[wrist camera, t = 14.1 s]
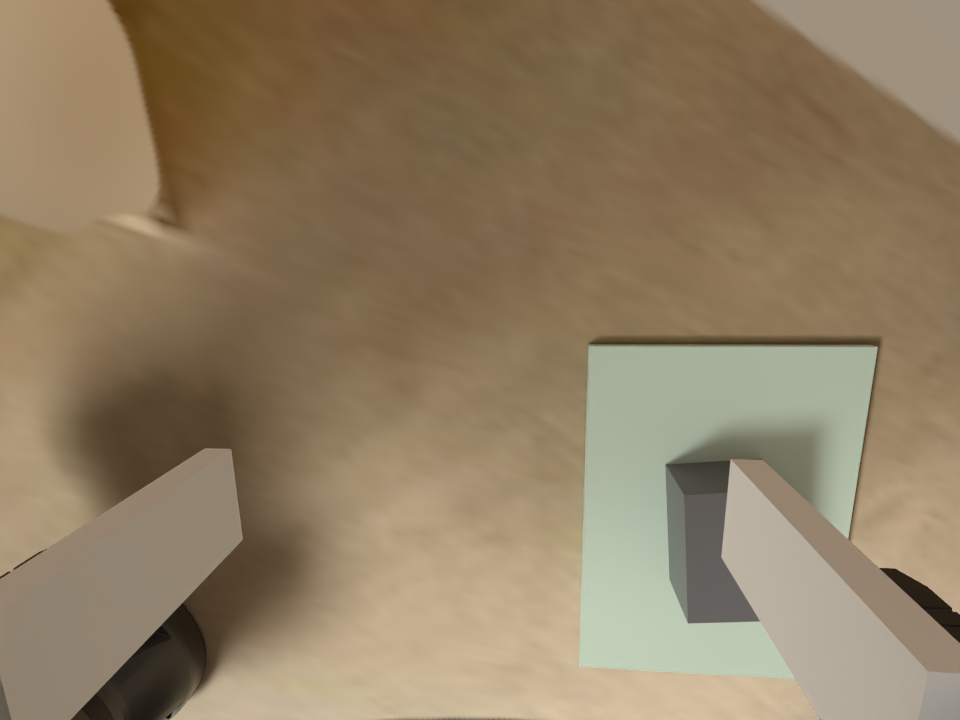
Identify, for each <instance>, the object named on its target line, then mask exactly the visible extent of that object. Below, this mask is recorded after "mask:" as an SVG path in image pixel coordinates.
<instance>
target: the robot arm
mask: <svg viewBox="0 0 960 720" xmlns="http://www.w3.org/2000/svg"><path fill="white" fill-rule="evenodd" d="M242 540H243V536H242V528H241V520H240V513H239V505H238V497H237V489H236V482H235V474H234V466H233V458H232V451H231V449H212V448H204V449H203V450H201V451H200V452H198V453H197V454H195V455H194V456H192V457H190V458H189V459H187V460H186V461H184V462H183V463H181V464H179V465H178V466H176V467H175V468H173V469H172V470H170V471H168V472H167V473H165V474H164V475H162V476H161V477H159V478H157V479H156V480H154V481H153V482H151V483H150V484H148V485H147V486H145V487H143V488H142V489H140V490H139V491H137V492H136V493H134V494H132V495H131V496H129V497H128V498H126V499H125V500H123V501H121V502H120V503H118V504H117V505H115V506H114V507H112V508H111V509H109V510H107V511H106V512H104V513H103V514H101V515H100V516H98V517H96V518H95V519H93V520H92V521H90V522H89V523H87V524H85V525H84V526H82V527H81V528H79V529H78V530H76V531H74V532H73V533H71V534H70V535H68V536H67V537H65V538H64V539H62V540H60V541H59V542H57V543H56V544H54V545H53V546H51V547H49V548H48V549H45V550H43V551H41V552H39V553H37V554H36V555H34V556H32V557H31V558H29V559H28V560H26V561H25V562H23V563H21V564H20V565H18V566H17V567H15V568H14V570H13V571H12V572H7V573H6V574H4V575H2V576H1V577H0V720H170V719H171V718H172V717H174V716H175V715H176V714H177V713H178V712H179V711H180V710H181V708H182V707H183V706H184V705H185V703H186V702H187V701H188V699H189V698H190V697H191V695H192V694H193V693H194V691H195V690H196V688H197V687H198V685H199V684H200V682H201V679H202V677H203V674H204V670H205V660H206V658H205V648H204V643H203V640H202V637H201V634H200V632H199V629H198V627H197V626H196V624H195V622H194V620H193V619H192V617H191V616H190V615H189V613H188V612H187V611H186V610H185V608H184V607H183V606H182V605H181V604H182V603H183V602H184V601H185V600H186V599H187V598H188V597H189V596H190V594H191V593H192V592H193V591H194V590H195V589H196V588H197V587H198V586H199V585H200V584H201V583H202V582H203V581H204V580H205V579H206V578H207V577H208V576H209V575H210V574H211V573H212V571H213V570H214V569H215V568H216V567H217V566H218V565H219V564H220V563H221V562H222V561H223V560H224V559H225V558H226V557H227V556H228V555H229V554H230V553H231V552H232V551H233V550H234V549H235V547H236V546H237V545H238V544H239V543H240V542H241V541H242ZM721 558H722V559H723V561H724V563H725V564H726V566H727V568H728V569H729V571H730V573H731V574H732V576H733V578H734V579H735V581H736V582H737V584H738V586H739V587H740V589H741V591H742V592H743V594H744V596H745V597H746V599H747V600H748V602H749V604H750V605H751V607H752V609H753V610H754V612H755V614H756V615H757V617H758V618H759V620H760V622H761V623H762V625H763V627H764V628H765V630H766V632H767V633H768V635H769V636H770V638H771V640H772V641H773V643H774V645H775V646H776V648H777V650H778V651H779V653H780V654H781V656H782V658H783V659H784V661H785V663H786V664H787V666H788V668H789V669H790V671H791V672H792V674H793V676H794V677H795V679H796V681H797V682H798V684H799V686H800V687H801V689H802V690H803V692H804V694H805V695H806V697H807V699H808V700H809V702H810V704H811V705H812V707H813V709H814V710H815V712H816V713H817V715H818V717H819V718H820V720H960V615H959V614H958V613H957V612H953V611H952V608H951V607H950V606H949V605H948V604H947V603H945V602H944V601H943V600H942V599H941V598H940V597H938V596H937V595H936V594H935V593H934V592H933V591H932V590H930V589H929V588H928V587H927V586H925V585H923V584H921V583H920V582H918V581H916V580H914V579H913V578H911V577H909V576H907V575H905V574H904V573H902V572H900V571H898V570H897V569H890V568H878V567H877V566H876V565H875V564H874V563H873V562H872V561H871V560H870V559H869V558H868V557H866V556H865V555H864V554H863V553H862V552H861V551H860V550H859V549H858V548H857V547H856V546H855V545H854V544H853V543H851V542H850V541H849V540H848V539H847V538H846V537H845V536H844V535H843V534H842V533H841V532H840V531H839V530H837V529H836V528H835V527H834V526H833V525H832V524H831V523H830V522H829V521H828V520H827V519H826V518H825V517H824V516H822V515H821V514H820V513H819V512H818V511H817V510H816V509H815V508H814V507H813V506H812V505H811V504H810V503H808V502H807V501H806V500H805V499H804V498H803V497H802V496H801V495H800V494H799V493H798V492H797V491H796V490H795V489H793V488H792V487H791V486H790V485H789V484H788V483H787V482H786V481H785V480H784V479H783V478H782V477H781V476H780V475H778V474H777V473H776V472H775V471H774V470H773V469H772V468H771V467H770V466H769V465H768V464H767V463H766V462H764V461H763V460H748V459H731V461H730V471H729V482H728V492H727V503H726V513H725V524H724V534H723V544H722V555H721Z"/></svg>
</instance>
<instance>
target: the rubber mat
mask: <svg viewBox="0 0 960 720" xmlns="http://www.w3.org/2000/svg"><path fill="white" fill-rule="evenodd" d="M877 349H878V347H877V346H873V345H699V344H588V372H587V405H586V439H585V472H584V506H583V539H582V572H581V606H580V639H579V665H580V667H591V668H608V669H626V670H643V671H661V672H678V673H696V674H713V675H731V676H748V677H766V678H783V679H795V677H794V676H793V674H792V672H791V671H790V669H789V668H788V666H787V664H786V663H785V661H784V659H783V658H782V656H781V654H780V653H779V651H778V650H777V648H776V646H775V645H774V643H773V641H772V640H771V638H770V636H769V635H768V633H767V632H766V630H765V628H764V627H763V625H762V623H761V622H725V623H690V624H688V623H687V620H686V618H685V615H684V613H683V611H682V608H681V606H680V603H679V601H678V599H677V596H676V594H675V592H674V589H673V587H672V584H671V582H670V579H669V552H668V524H667V496H666V468H665V464H682V463H698V462H714V461H730V460H731V459H762V460H763V461H764V462H766V463H767V464H768V465H769V466H770V467H771V468H772V469H773V470H774V471H775V472H776V473H777V474H778V475H780V476H781V477H782V478H783V479H784V480H785V481H786V482H787V483H788V484H789V485H790V486H791V487H792V488H793V489H795V490H796V491H797V492H798V493H799V494H800V495H801V496H802V497H803V498H804V499H805V500H806V501H807V502H808V503H810V504H811V505H812V506H813V507H814V508H815V509H816V510H817V511H818V512H819V513H820V514H821V515H822V516H824V517H825V518H826V519H827V520H828V521H829V522H830V523H831V524H832V525H833V526H834V527H835V528H836V529H837V530H839V531H840V532H841V533H842V534H843V535H844V536H845V537H846V538H847V539H848V537H849V530H850V524H851V518H852V511H853V505H854V498H855V492H856V485H857V479H858V472H859V466H860V459H861V453H862V446H863V440H864V433H865V427H866V420H867V414H868V407H869V401H870V395H871V388H872V382H873V375H874V369H875V362H876V356H877Z"/></svg>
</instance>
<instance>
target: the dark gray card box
mask: <svg viewBox="0 0 960 720" xmlns="http://www.w3.org/2000/svg"><path fill="white" fill-rule="evenodd" d="M748 460H762V459H748ZM730 461H731V460H730ZM730 461H714V462H698V463H682V464H665V468H666V496H667V524H668V552H669V579H670V582H671V584H672V587H673V589H674V592H675V594H676V596H677V599H678V601H679V603H680V606H681V608H682V611H683V613H684V615H685V618H686V620H687V623H688V624H690V623H725V622H760V620H759V618H758V617H757V615H756V614H755V612H754V610H753V609H752V607H751V605H750V604H749V602H748V600H747V599H746V597H745V596H744V594H743V592H742V591H741V589H740V587H739V586H738V584H737V582H736V581H735V579H734V578H733V576H732V574H731V573H730V571H729V569H728V568H727V566H726V564H725V563H724V561H723V559H722V558H721V555H722V544H723V534H724V524H725V513H726V503H727V492H728V482H729V471H730Z"/></svg>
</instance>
